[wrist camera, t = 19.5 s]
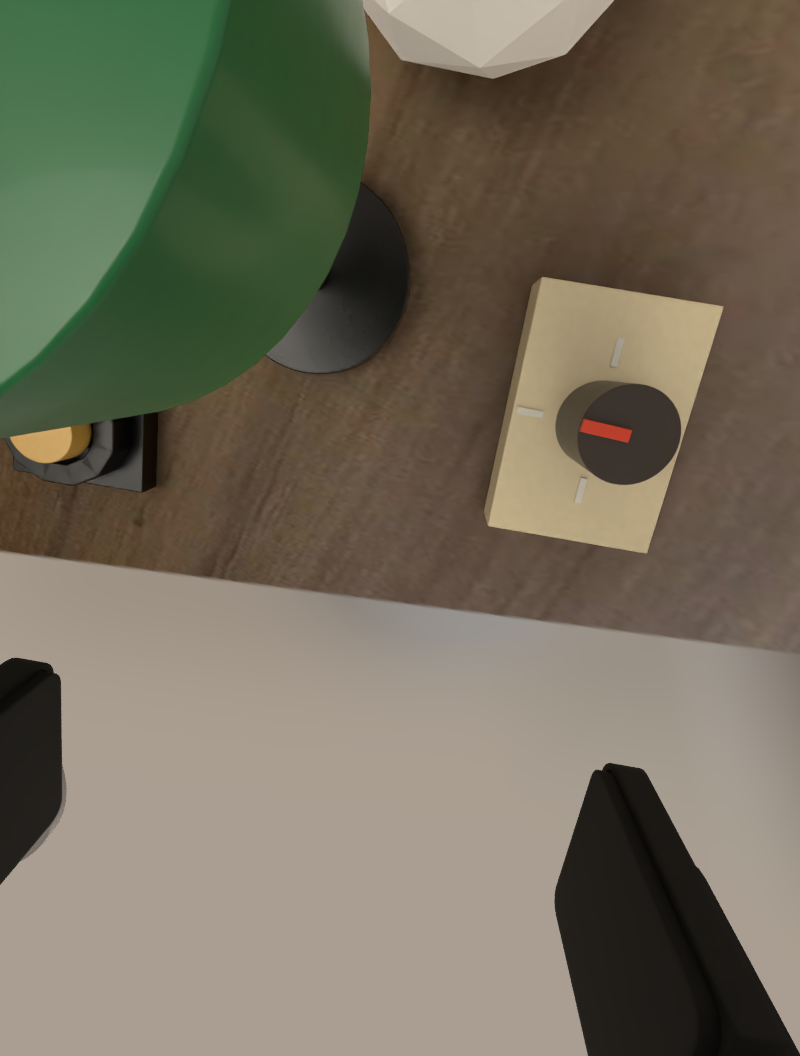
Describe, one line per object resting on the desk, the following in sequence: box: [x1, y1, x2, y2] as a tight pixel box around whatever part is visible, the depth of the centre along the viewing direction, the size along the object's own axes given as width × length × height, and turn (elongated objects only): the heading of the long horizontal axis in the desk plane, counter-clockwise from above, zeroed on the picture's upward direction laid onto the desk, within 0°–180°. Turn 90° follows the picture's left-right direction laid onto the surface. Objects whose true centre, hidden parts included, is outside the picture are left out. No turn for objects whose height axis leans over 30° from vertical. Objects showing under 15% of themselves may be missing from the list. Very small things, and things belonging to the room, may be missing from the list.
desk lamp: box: [0, 0, 411, 439], centre depth 17 cm, size 11×11×28 cm
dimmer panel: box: [484, 277, 723, 553], centre depth 30 cm, size 13×9×3 cm
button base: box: [4, 412, 158, 493], centre depth 32 cm, size 11×8×4 cm
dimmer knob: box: [555, 381, 681, 485], centre depth 26 cm, size 4×4×5 cm
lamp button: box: [10, 423, 92, 463], centre depth 30 cm, size 4×4×2 cm
